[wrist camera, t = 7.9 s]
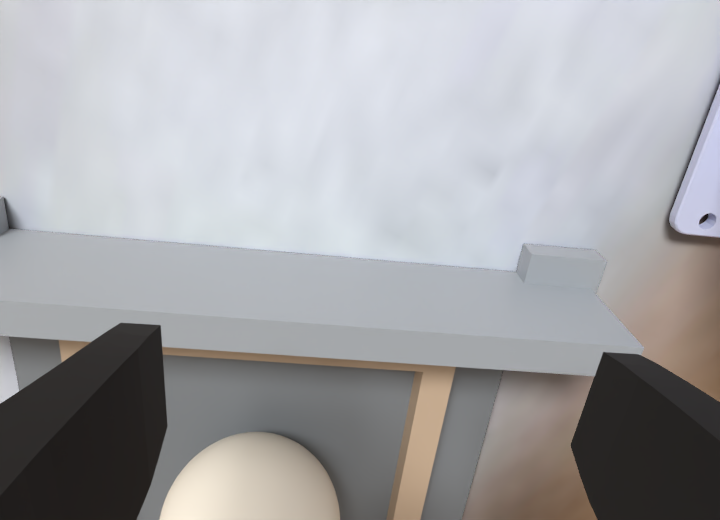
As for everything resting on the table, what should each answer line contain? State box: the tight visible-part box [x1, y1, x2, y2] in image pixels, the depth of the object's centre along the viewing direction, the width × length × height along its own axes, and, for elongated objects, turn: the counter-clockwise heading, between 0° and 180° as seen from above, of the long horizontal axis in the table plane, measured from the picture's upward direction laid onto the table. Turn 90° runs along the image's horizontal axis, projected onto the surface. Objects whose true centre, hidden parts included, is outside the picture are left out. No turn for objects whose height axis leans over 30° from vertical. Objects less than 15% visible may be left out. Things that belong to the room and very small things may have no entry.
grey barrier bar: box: [0, 196, 644, 376], centre depth 15 cm, size 20×3×4 cm, turn 83°
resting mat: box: [9, 336, 503, 520], centre depth 20 cm, size 16×12×2 cm
